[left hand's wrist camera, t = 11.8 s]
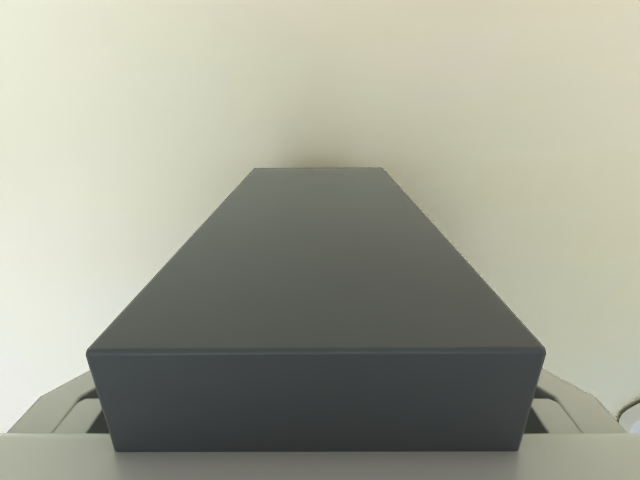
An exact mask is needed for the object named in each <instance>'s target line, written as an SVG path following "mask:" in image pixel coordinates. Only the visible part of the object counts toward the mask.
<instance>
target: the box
mask: <svg viewBox="0 0 640 480" xmlns="http://www.w3.org/2000/svg"><path fill="white" fill-rule="evenodd" d="M545 355H546V350H545V348H544V346H543V345H542V344H541V343H540V342H539V341H538V340H537V339H536V338H535V336H534V335H533V334H532V333H531V332H530V331H529V330H528V329H527V328H526V326H525V325H524V324H523V323H522V322H521V321H520V320H519V319H518V318H517V317H516V315H515V314H514V313H513V312H512V311H511V310H510V309H509V308H508V307H507V305H506V304H505V303H504V302H503V301H502V300H501V299H500V298H499V297H498V295H497V294H496V293H495V292H494V291H493V290H492V289H491V288H490V287H489V285H488V284H487V283H486V282H485V281H484V280H483V279H482V278H481V277H480V276H479V274H478V273H477V272H476V271H475V270H474V269H473V268H472V267H471V266H470V264H469V263H468V262H467V261H466V260H465V259H464V258H463V257H462V256H461V254H460V253H459V252H458V251H457V250H456V249H455V248H454V247H453V246H452V245H451V243H450V242H449V241H448V240H447V239H446V238H445V237H444V236H443V235H442V233H441V232H440V231H439V230H438V229H437V228H436V227H435V226H434V225H433V223H432V222H431V221H430V220H429V219H428V218H427V217H426V216H425V215H424V213H423V212H422V211H421V210H420V209H419V208H418V207H417V206H416V205H415V204H414V202H413V201H412V200H411V199H410V198H409V197H408V196H407V195H406V194H405V192H404V191H403V190H402V189H401V188H400V187H399V186H398V185H397V184H396V182H395V181H394V180H393V179H392V178H391V177H390V176H389V175H388V174H387V173H386V171H385V170H384V169H383V168H254V169H253V170H252V171H251V172H250V173H249V175H248V176H247V177H246V178H245V179H244V180H243V181H242V182H241V183H240V184H239V185H238V186H237V188H236V189H235V190H234V191H233V192H232V193H231V194H230V195H229V196H228V197H227V198H226V199H225V201H224V202H223V203H222V204H221V205H220V206H219V207H218V208H217V209H216V210H215V211H214V212H213V214H212V215H211V216H210V217H209V218H208V219H207V220H206V221H205V222H204V223H203V224H202V226H201V227H200V228H199V229H198V230H197V231H196V232H195V233H194V234H193V235H192V236H191V237H190V239H189V240H188V241H187V242H186V243H185V244H184V245H183V246H182V247H181V248H180V249H179V250H178V252H177V253H176V254H175V255H174V256H173V257H172V258H171V259H170V260H169V261H168V262H167V264H166V265H165V266H164V267H163V268H162V269H161V270H160V271H159V272H158V273H157V274H156V275H155V277H154V278H153V279H152V280H151V281H150V282H149V283H148V284H147V285H146V286H145V287H144V288H143V290H142V291H141V292H140V293H139V294H138V295H137V296H136V297H135V298H134V299H133V300H132V301H131V303H130V304H129V305H128V306H127V307H126V308H125V309H124V310H123V311H122V312H121V313H120V315H119V316H118V317H117V318H116V319H115V320H114V321H113V322H112V323H111V324H110V325H109V326H108V328H107V329H106V330H105V331H104V332H103V333H102V334H101V335H100V336H99V337H98V338H97V339H96V341H95V342H94V343H93V344H92V345H91V346H90V347H89V348H88V349H87V352H86V357H87V361H88V364H89V367H90V371H91V374H92V377H93V381H94V384H95V387H96V391H97V394H98V397H99V401H100V404H101V407H102V411H103V414H104V417H105V421H106V424H107V427H108V431H109V434H110V437H111V441H112V444H113V447H114V451H116V452H468V451H518V450H519V447H520V444H521V440H522V437H523V433H524V430H525V426H526V423H527V419H528V415H529V412H530V408H531V405H532V401H533V398H534V394H535V391H536V387H537V384H538V380H539V376H540V373H541V369H542V366H543V362H544V359H545Z"/></svg>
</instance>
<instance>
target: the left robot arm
mask: <svg viewBox="0 0 640 480" xmlns="http://www.w3.org/2000/svg"><path fill="white" fill-rule="evenodd" d="M0 480H640V403H638V404H636V405H634V406H632V407H631V408H629V409H627V410H626V411H625V412H624V413H623V414H622V415H621V416H620V419H619V423H618V421H617V420H616V419H615V418H614V417H613V416H612V415H611V414H610V413H609V412H608V410H607V409H606V408H605V407H604V406H603V405H602V404H601V403H600V402H599V401H598V400H597V398H596V397H594V396H592V395H590V394H588V393H586V392H584V391H583V390H581V389H579V388H577V387H575V386H573V385H572V384H570V383H568V382H566V381H564V380H562V379H561V378H559V377H557V376H555V375H553V374H551V373H549V372H548V371H546V370H544V369H541V373H540V376H539V380H538V384H537V387H536V391H535V394H534V398H533V401H532V405H531V408H530V412H529V415H528V419H527V423H526V426H525V430H524V433H523V437H522V440H521V444H520V447H519V450H518V451H468V452H116V451H114V447H113V444H112V441H111V437H110V434H109V431H108V427H107V424H106V421H105V417H104V414H103V411H102V407H101V404H100V401H99V397H98V394H97V391H96V387H95V384H94V381H93V377H92V374H91V371H88V372H86V373H84V374H82V375H80V376H79V377H77V378H75V379H73V380H71V381H69V382H67V383H65V384H64V385H62V386H60V387H58V388H56V389H54V390H52V391H51V392H49V393H47V394H45V395H43V396H41V397H40V398H39V399H38V400H37V401H36V402H35V403H34V404H33V405H32V406H31V407H30V408H29V410H28V411H27V412H26V413H25V414H24V415H23V416H22V417H21V418H20V419H19V420H18V421H17V422H16V423H15V425H14V426H13V427H12V428H11V429H10V430H9V431H8V432H7V433H0Z"/></svg>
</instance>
